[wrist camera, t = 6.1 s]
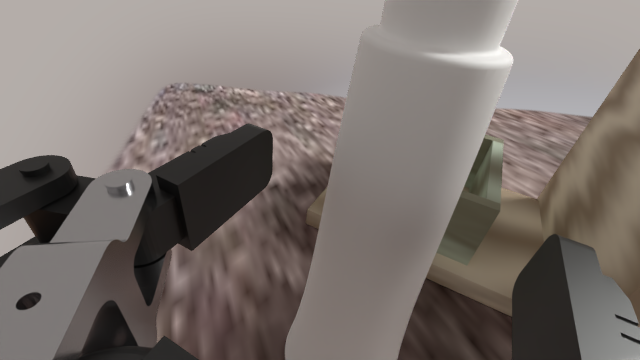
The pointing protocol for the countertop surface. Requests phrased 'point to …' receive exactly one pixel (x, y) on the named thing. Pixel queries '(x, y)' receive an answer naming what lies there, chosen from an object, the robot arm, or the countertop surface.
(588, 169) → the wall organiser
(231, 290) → the countertop surface
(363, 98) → the cosmetic bottle
